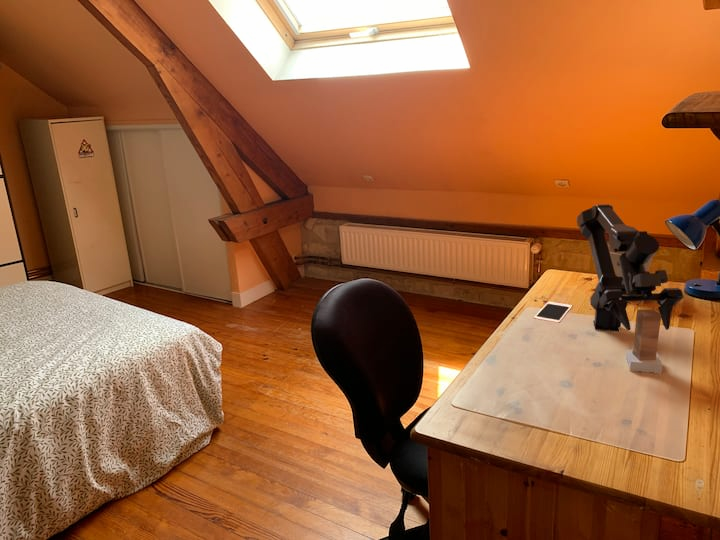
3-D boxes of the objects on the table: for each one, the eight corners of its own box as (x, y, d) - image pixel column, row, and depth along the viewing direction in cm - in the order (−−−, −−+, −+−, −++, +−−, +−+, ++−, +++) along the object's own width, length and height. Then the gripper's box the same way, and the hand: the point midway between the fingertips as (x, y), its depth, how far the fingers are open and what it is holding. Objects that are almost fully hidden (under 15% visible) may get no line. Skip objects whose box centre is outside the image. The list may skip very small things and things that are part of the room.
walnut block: (632, 353, 141) (637, 309, 137) (648, 353, 141) (653, 309, 137) (639, 360, 137) (644, 315, 133) (655, 360, 137) (661, 315, 133)
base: (629, 370, 137) (630, 361, 137) (625, 358, 144) (626, 349, 143) (661, 373, 135) (662, 364, 135) (655, 360, 142) (656, 351, 141)
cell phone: (572, 306, 180) (572, 305, 180) (559, 324, 168) (559, 322, 168) (548, 303, 185) (548, 301, 184) (533, 319, 172) (533, 317, 172)
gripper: (607, 259, 136) (620, 317, 129) (685, 257, 135) (703, 316, 128) (593, 279, 146) (605, 334, 139) (666, 277, 145) (681, 333, 138)
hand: (648, 329), depth 136 cm, fingers open, 9 cm apart
